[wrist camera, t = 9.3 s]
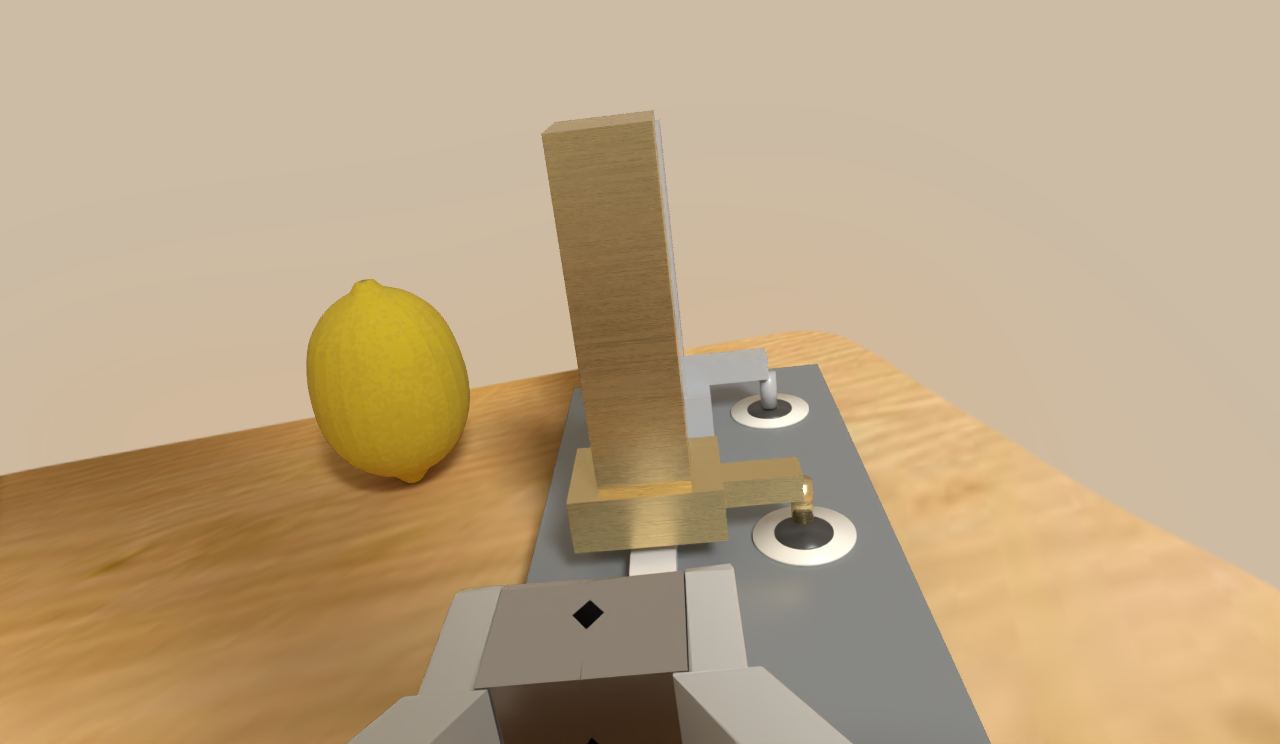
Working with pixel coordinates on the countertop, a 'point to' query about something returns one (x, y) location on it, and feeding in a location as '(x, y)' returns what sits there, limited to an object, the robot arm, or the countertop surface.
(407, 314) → the lemon
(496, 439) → the countertop surface
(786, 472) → the brass leg
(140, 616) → the countertop surface
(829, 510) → the board
